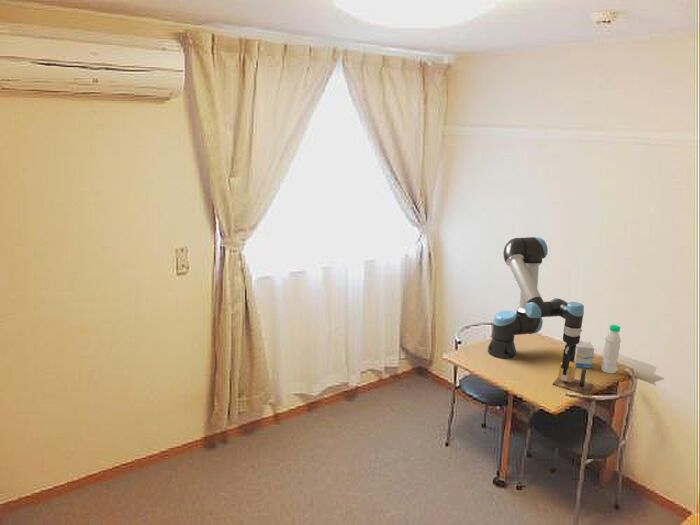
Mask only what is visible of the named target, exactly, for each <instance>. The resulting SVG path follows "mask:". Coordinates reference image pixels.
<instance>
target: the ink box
mask: <svg viewBox="0 0 700 525" xmlns="http://www.w3.org/2000/svg"><path fill="white" fill-rule="evenodd" d="M594 353H595V347H594V346H593V344H592V342H591V341H581V340H580V342H579V343H578V344H576V351H575V360H574V362H575V363H576V368H581V369H583V368H584V369H589V370H590V369H592V367H593V359H594Z"/></svg>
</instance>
